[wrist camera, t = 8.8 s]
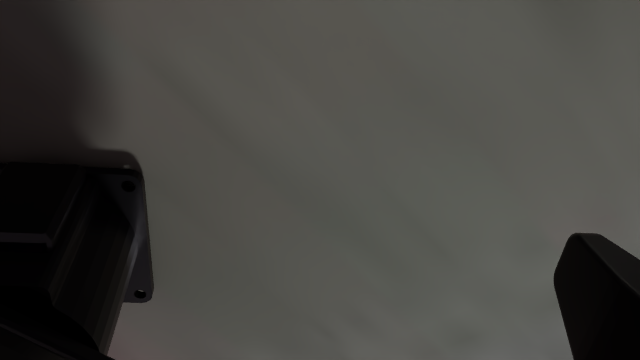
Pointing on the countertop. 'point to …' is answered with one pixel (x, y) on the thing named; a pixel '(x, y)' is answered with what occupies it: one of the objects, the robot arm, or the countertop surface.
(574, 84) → the countertop surface
